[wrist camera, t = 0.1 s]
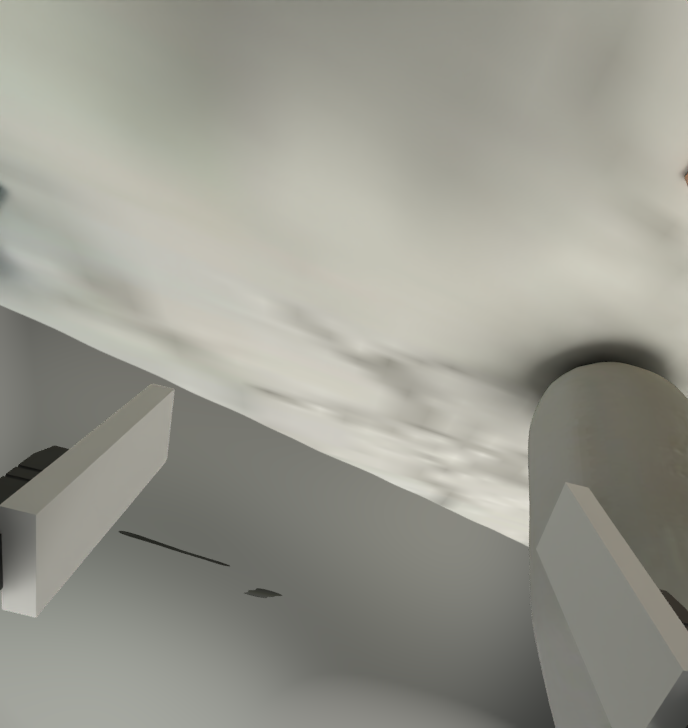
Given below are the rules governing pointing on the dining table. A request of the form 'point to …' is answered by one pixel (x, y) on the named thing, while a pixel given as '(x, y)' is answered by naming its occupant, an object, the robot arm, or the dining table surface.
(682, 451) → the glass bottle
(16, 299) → the dining table surface
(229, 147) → the dining table surface
